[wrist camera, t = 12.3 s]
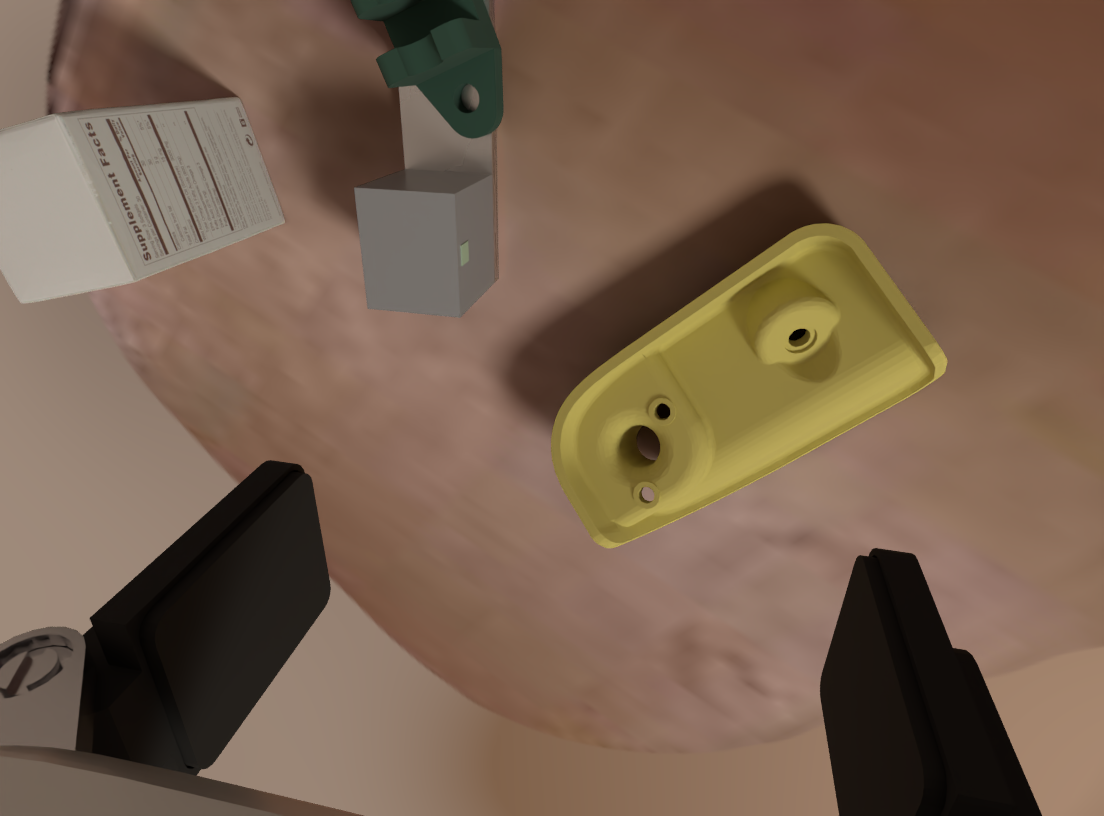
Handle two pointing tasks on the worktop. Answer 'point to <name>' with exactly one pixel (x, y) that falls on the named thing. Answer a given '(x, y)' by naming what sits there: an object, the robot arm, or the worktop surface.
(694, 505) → the plastic component
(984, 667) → the worktop surface
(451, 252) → the block
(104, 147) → the supplement box
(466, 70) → the mount
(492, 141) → the rail
